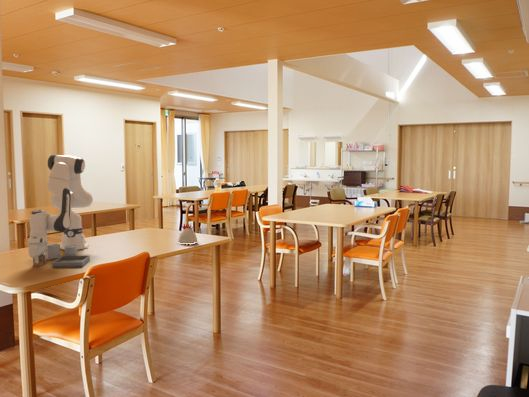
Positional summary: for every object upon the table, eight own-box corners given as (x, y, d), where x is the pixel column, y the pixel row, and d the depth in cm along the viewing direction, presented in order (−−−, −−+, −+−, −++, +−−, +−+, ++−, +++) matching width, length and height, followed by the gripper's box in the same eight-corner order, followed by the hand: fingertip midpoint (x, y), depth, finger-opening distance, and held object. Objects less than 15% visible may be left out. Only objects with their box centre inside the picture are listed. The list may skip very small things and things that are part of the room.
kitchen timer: (180, 241, 345) (180, 222, 344) (198, 242, 345) (198, 222, 344) (176, 245, 331) (176, 224, 330) (195, 245, 331) (195, 224, 330)
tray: (62, 260, 276) (62, 255, 276) (89, 260, 278) (89, 255, 278) (52, 267, 258) (52, 262, 258) (81, 267, 260) (81, 262, 260)
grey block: (66, 258, 284) (66, 245, 283) (78, 258, 284) (78, 245, 284) (63, 260, 277) (62, 247, 276) (75, 260, 278) (75, 247, 277)
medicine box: (57, 256, 287) (56, 243, 287) (60, 257, 285) (60, 244, 284) (44, 258, 281) (44, 244, 281) (47, 259, 278) (47, 245, 278)
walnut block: (36, 263, 268) (36, 255, 268) (45, 263, 269) (45, 255, 268) (33, 265, 263) (33, 257, 263) (42, 265, 264) (42, 256, 263)
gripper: (39, 235, 274) (39, 257, 276) (26, 241, 254) (26, 265, 255) (50, 235, 275) (50, 257, 276) (38, 241, 255) (38, 265, 256)
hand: (39, 261), depth 266 cm, fingers closed on walnut block, 5 cm apart
